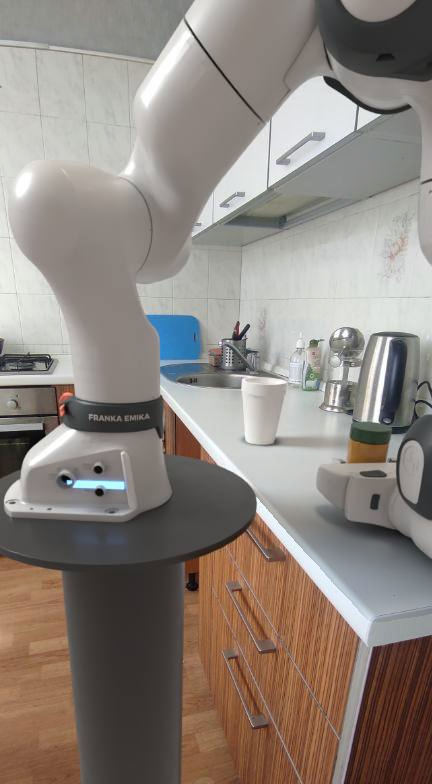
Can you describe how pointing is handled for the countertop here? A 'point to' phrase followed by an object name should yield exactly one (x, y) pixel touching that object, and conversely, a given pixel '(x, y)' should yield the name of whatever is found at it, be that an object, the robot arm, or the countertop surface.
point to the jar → (366, 452)
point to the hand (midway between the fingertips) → (363, 462)
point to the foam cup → (262, 408)
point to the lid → (370, 432)
